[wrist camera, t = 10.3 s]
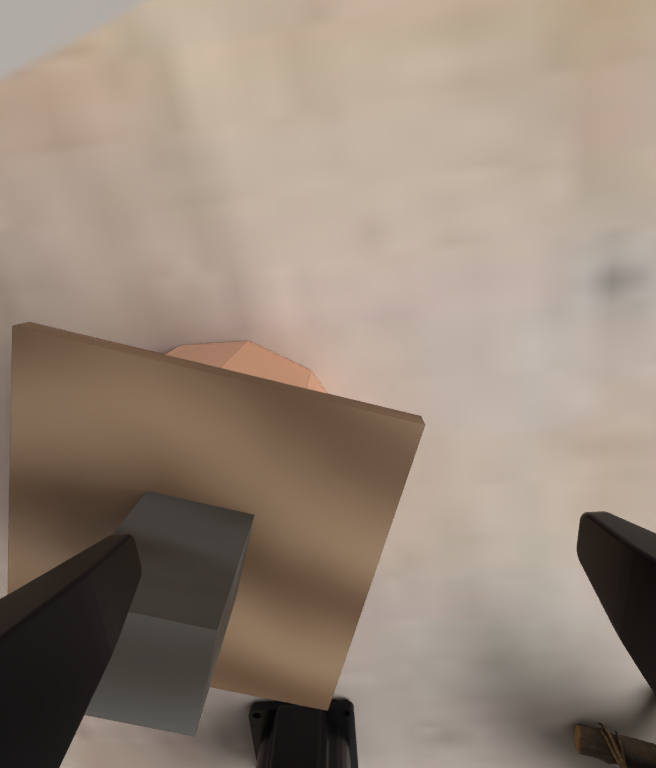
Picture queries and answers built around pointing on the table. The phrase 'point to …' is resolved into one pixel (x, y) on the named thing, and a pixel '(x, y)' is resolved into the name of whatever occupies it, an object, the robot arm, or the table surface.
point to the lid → (203, 516)
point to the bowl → (249, 362)
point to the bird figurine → (614, 747)
